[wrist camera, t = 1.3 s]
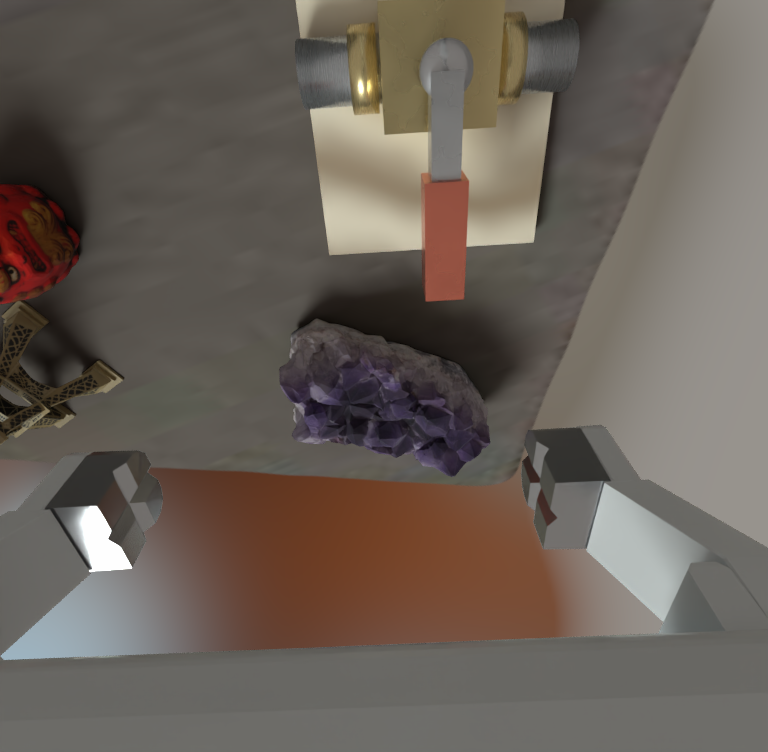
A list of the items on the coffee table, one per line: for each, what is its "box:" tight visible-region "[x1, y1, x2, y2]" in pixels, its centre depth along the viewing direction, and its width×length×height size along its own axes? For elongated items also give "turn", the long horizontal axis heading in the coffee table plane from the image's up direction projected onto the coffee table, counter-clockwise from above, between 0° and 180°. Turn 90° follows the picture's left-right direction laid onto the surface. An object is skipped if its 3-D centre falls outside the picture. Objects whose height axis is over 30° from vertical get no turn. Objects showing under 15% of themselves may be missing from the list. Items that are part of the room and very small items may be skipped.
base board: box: [296, 0, 565, 255], centre depth 30 cm, size 24×16×2 cm, turn 3°
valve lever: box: [419, 38, 474, 301], centre depth 26 cm, size 13×3×3 cm, turn 3°
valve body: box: [295, 0, 580, 135], centre depth 27 cm, size 6×16×6 cm, turn 93°
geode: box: [279, 319, 490, 477], centre depth 42 cm, size 20×12×10 cm, turn 73°
